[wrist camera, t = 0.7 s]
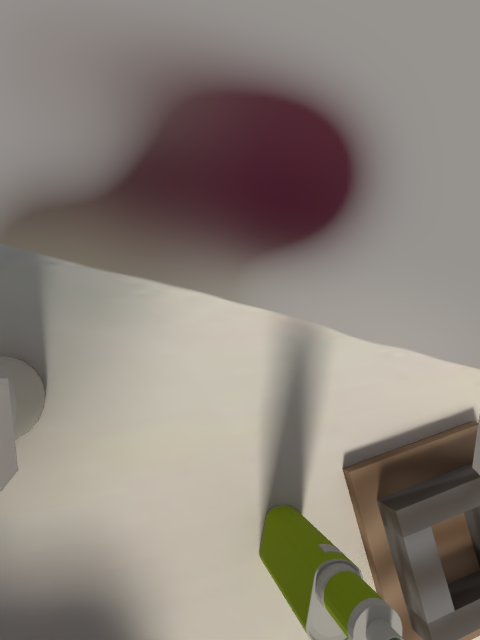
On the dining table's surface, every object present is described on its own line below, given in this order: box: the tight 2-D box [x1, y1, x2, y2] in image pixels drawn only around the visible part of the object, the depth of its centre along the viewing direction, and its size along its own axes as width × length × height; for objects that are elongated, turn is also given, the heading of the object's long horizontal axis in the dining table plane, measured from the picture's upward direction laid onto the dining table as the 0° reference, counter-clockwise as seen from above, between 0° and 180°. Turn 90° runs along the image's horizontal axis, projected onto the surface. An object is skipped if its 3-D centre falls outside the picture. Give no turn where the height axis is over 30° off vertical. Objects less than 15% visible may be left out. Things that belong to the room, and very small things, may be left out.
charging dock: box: [343, 422, 480, 640], centre depth 45 cm, size 20×16×5 cm
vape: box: [259, 505, 404, 640], centre depth 34 cm, size 4×6×20 cm, turn 168°
